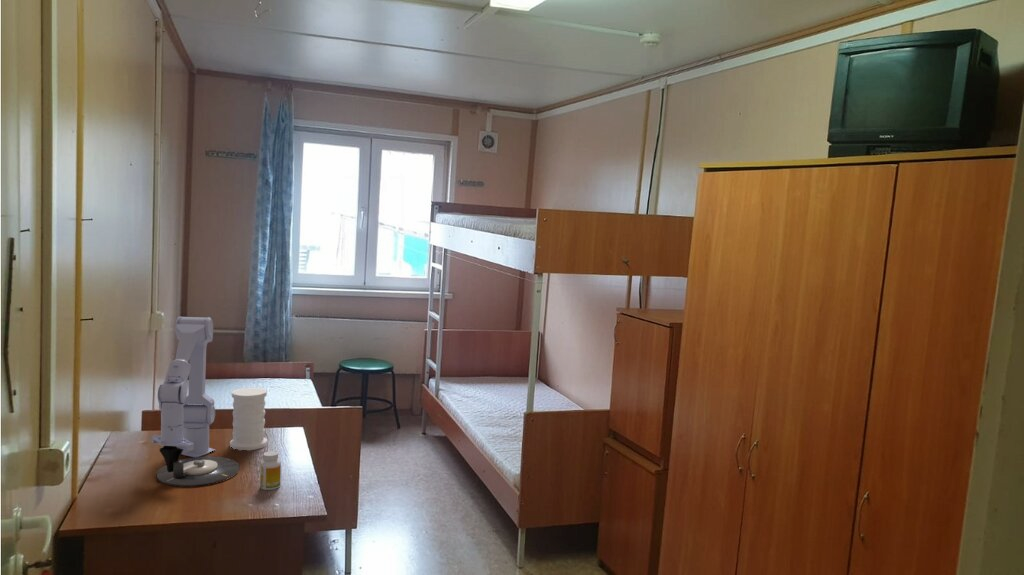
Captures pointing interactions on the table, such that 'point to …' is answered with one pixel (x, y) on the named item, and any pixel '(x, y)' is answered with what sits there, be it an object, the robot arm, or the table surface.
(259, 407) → the decorative container
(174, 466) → the dial
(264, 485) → the supplement bottle
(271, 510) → the table surface
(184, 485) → the dial plate
